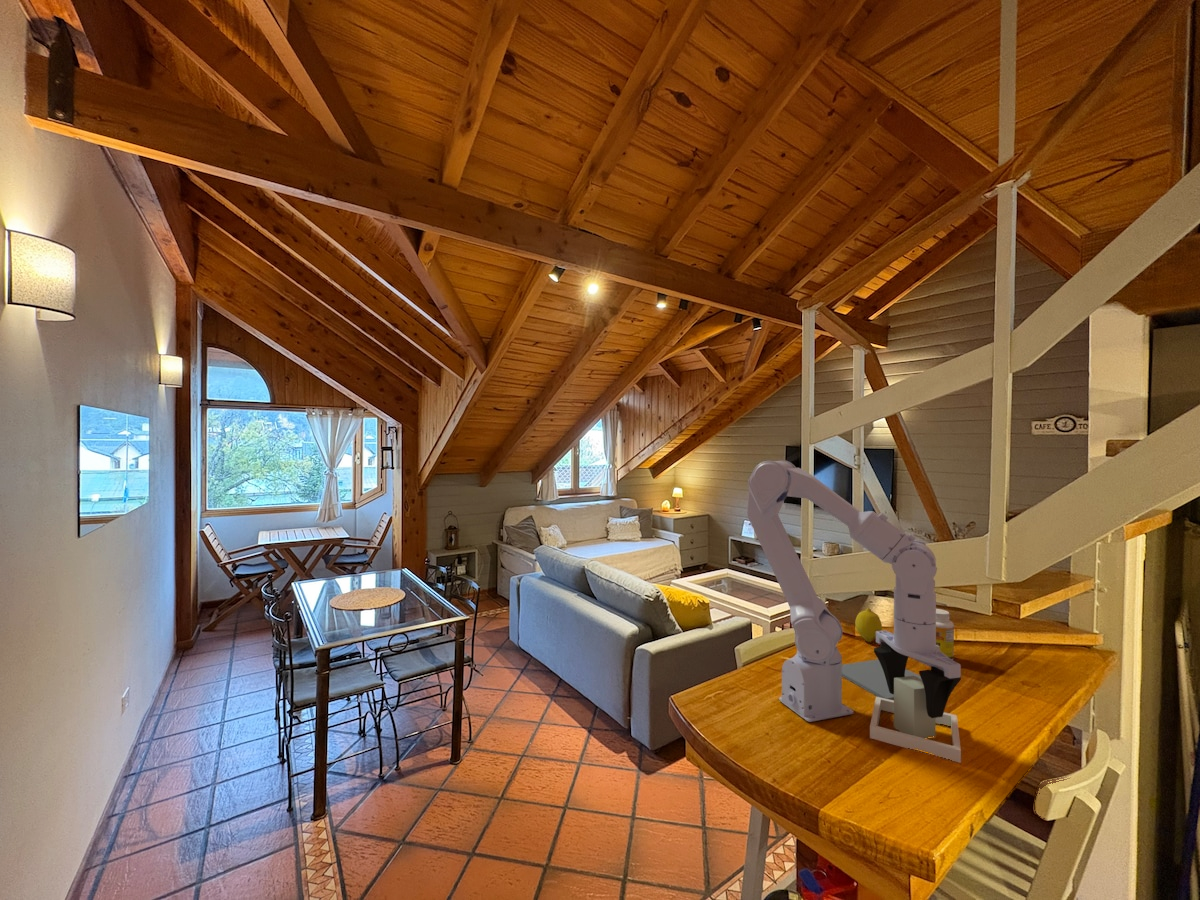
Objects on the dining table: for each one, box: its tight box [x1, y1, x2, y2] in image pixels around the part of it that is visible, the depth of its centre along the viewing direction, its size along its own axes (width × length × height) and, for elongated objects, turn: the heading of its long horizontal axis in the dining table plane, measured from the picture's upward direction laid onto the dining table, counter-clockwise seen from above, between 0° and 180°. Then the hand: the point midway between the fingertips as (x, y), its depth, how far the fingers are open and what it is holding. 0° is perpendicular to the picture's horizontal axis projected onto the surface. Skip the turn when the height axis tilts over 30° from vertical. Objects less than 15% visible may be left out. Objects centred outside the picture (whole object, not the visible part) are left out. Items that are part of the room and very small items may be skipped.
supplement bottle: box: [936, 608, 955, 661], centre depth 110 cm, size 6×6×10 cm
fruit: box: [854, 607, 883, 643], centre depth 119 cm, size 6×6×8 cm
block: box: [893, 676, 937, 738], centre depth 81 cm, size 4×4×8 cm
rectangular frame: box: [869, 696, 962, 764], centre depth 81 cm, size 12×12×2 cm
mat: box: [842, 658, 921, 701], centre depth 99 cm, size 14×14×1 cm
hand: (914, 704), depth 81 cm, fingers open, 7 cm apart
